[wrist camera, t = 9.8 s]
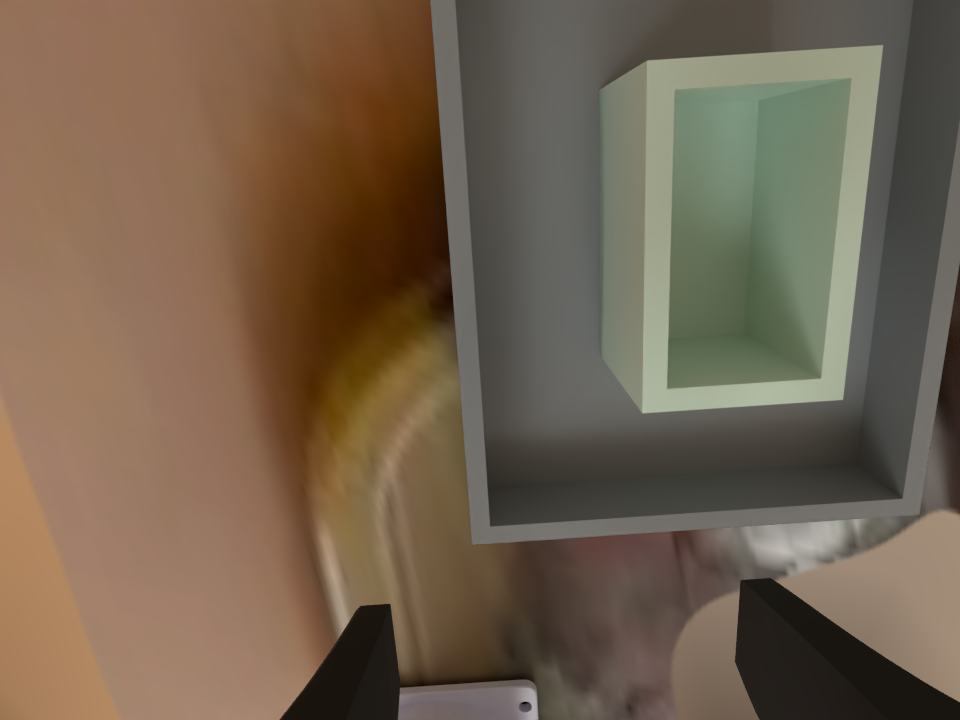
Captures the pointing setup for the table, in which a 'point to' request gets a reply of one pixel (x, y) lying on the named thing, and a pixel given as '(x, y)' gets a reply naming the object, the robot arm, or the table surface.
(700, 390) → the mint crate
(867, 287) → the grey tray
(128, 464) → the table surface
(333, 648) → the robot arm
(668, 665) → the table surface
